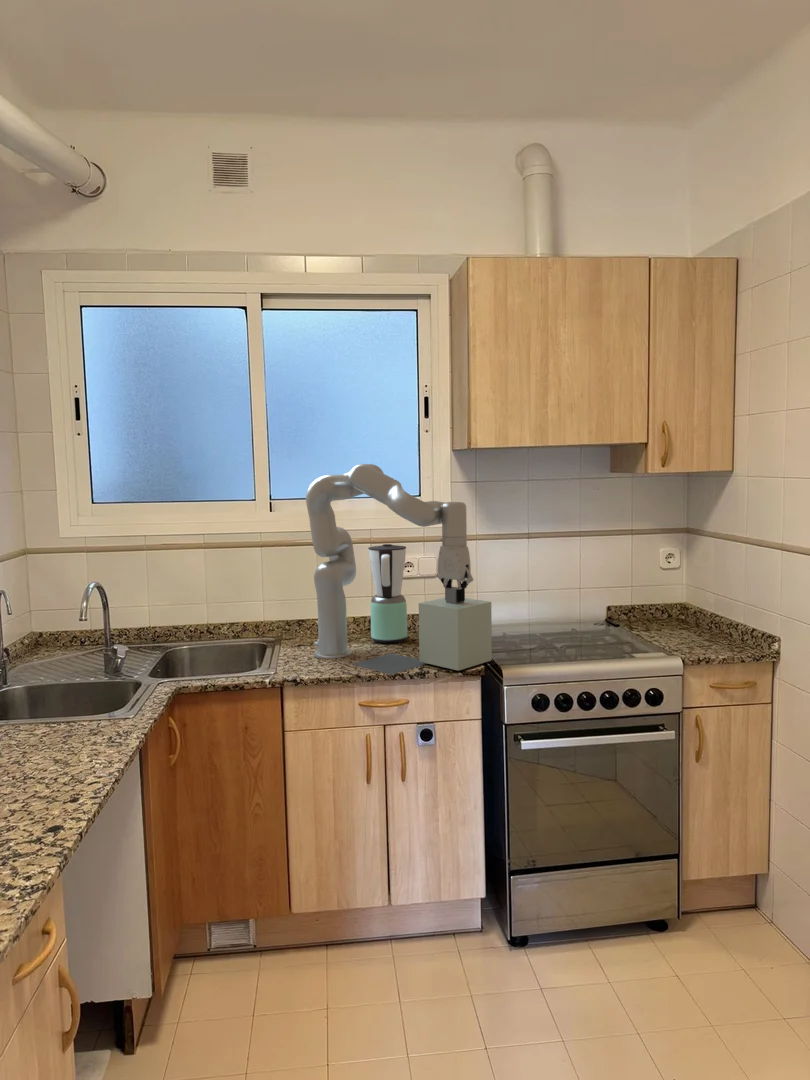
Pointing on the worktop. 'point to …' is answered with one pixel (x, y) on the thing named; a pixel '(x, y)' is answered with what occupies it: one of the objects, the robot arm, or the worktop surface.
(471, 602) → the cover
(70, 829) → the worktop surface
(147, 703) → the worktop surface
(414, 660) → the mat
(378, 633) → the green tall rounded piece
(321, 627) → the robot arm
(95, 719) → the worktop surface
